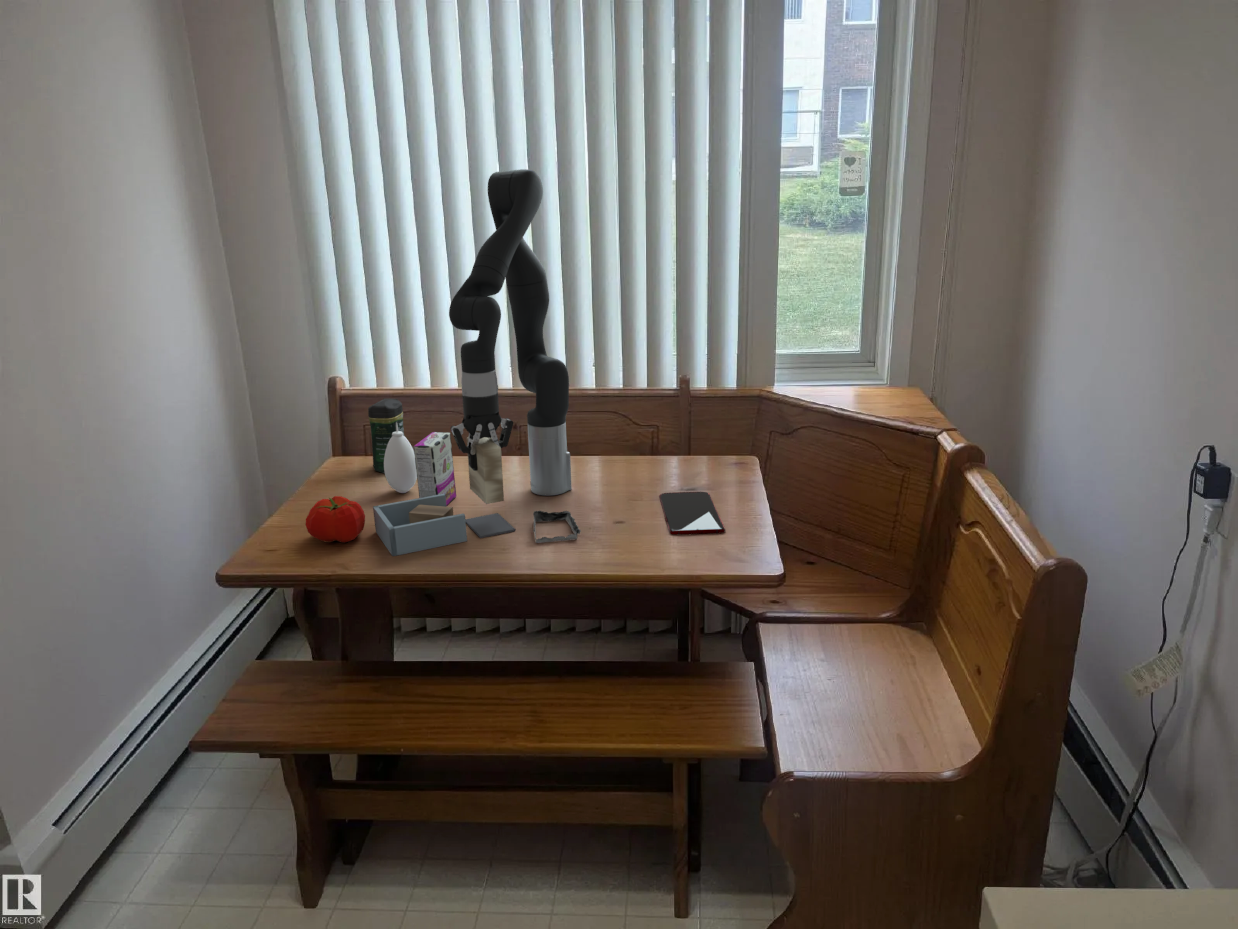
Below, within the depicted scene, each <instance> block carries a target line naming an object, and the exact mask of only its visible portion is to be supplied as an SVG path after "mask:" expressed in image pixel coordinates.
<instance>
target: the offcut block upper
mask: <svg viewBox="0 0 1238 929" xmlns="http://www.w3.org/2000/svg"><path fill="white" fill-rule="evenodd" d="M453 507H454V506H446V507H445V506H431V505H418V506H417V507H415V508H414V509H413V510H412V511H410V512H409V520H410V524H411V523H416V522H421V521H427V520H432V519H437V518H442V517H447V516H453V515H454V508H453Z"/></svg>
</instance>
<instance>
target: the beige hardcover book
mask: <svg viewBox="0 0 1238 929" xmlns="http://www.w3.org/2000/svg"><path fill="white" fill-rule="evenodd" d="M468 437H469V436H467V437H466V446H468ZM476 454H477V467H478V470H477V471H474V470H473V469H472V468H471V467H470V466H469V459H468V458H467V462H468V466H467V467H468V477H469V478H468V479H469V480H468V481H469V490H471V491H472V493H474V494H475V495H476V496H477V497H478V498H479V499H480V500H481V501H482V502H484V504H485V505H489V504H494V503H500V502H505V498H504V495H505V494H504V478H503V461H502V458H503V456H502V448H501V447H499V446H498V445H497V444H495V443H492V441H491V440H489V439H488V438H487V437H484V438H481V439H479V443H478V445H476Z"/></svg>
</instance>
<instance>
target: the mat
mask: <svg viewBox="0 0 1238 929" xmlns="http://www.w3.org/2000/svg"><path fill="white" fill-rule="evenodd" d="M465 521H466V526H468V527H469V528H470V529H471V530H472V531H473V532H474V533H475V534H476V536H478V537H479V539H484V538H489V537H492V536H497V535H498V536H499V535H501V534H502V535H503V534H507V533H513V532H516V528H515V527H514V526H512V524H511V523H509V522H508V520H506V519H505V518H504V517H503V516H502V515H501V514H499V513H498V512H496V513H491V514H486V515H481V516H475V517H470V518H465Z"/></svg>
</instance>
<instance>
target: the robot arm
mask: <svg viewBox="0 0 1238 929" xmlns="http://www.w3.org/2000/svg"><path fill="white" fill-rule="evenodd" d="M543 193H544V189H543V183H542V180H541V178H540V175H539V174H538V173H537V172H536V171H534V170H533V169H527V168H526V169H525V168H524V169H511V170H510V169H509V170H501V171H500V170H499V171H494V172H493V173H491V174H490V176H489V178H488V181H487V196H488V198H487V199H488V203H489V207H490V211H491V216H492V220H493V223H494V227H495V230H494V231H493V233H492V234H491V235H490V236H489V237H488V238H487V239H486V241H485V242H484V243H483V244H482V246H481V247H480V248H479V250H478V253H477V255H476V258H475V261H474V264H473V266H472V269H471V272H470V274H469V276H468V277H467V279H465V281H464V283H463V284H462V285H461V286H460V287H459V289H458V290H457V291H456V293H455V294H454V296H453V298H452V300H451V302H450V305H449V309H448V317H449V321H450V324H451V325H452V326H453V327H454V328H456V329H458V330H460V331H461V330H462V331H475V332H476V331H478V336H477V339H476V340H471V341H466V342H464V343H463V344H462V345H461V346H460V363H461V395H462V396H461V399H462V410H463V411H462V412H463V413H462V414H463V419H462V420H461V423H459V424H457V425H456V426H455V425H452V426H450V428H449V429H450V433H451V435H452V437H453V438H454V441H455V443H456V445H457V448H458V449H459V451H460V452H462V453H463V454H467V460H468V459H469V466H470V467H471V468H472V469H473V470H474V471H477V470H478V467H477V454H476V445H478V443H479V439H481V438H484V437H487V438H488V439H489V440H491V441H492V443H495V444H497V445H498V446H499V447H501V449H502V448H506V447H508V446H509V441H510V438H511V434H512V430H513V426H514V421H513V420H511V419H510V418H509V417H506V418H502V416H501V414H500V408H499V407H500V406H499V384H498V377H497V372H496V371H497V370H496V355H495V350H496V344H497V339H498V338H497V337H498V332H499V328H500V325H501V324H500V323H501V319H502V310H501V307H500V304H499V303H498V301H497V300H496V299H495V298H493V297H492V296H495V295H497V294H498V293H500V292H501V290H502V288H503V285H504V282H505V283H506V288H507V294H508V300H509V304H510V309H511V314H512V315H511V317H512V323H513V328H514V335H515V342H516V355H517V356H516V358H517V359H516V360H517V371H518V378H519V382H520V384H521V385H522V387H523V388H524V389H525V390H526V391H529V392H531V393H533V394H535V407H533V408H531V409H529V410H528V411H527V414H526V417H527V418H526V419H527V420H526V422H527V435H528V436H527V438H528V439H527V440H528V456H529V457H528V458H529V477H530V481H529V482H530V492H531V493H533V494H535V495H538V496H557V495H558V496H559V495H562V494H564V493H567V491H571V490H572V487H573V486H572V467H571V466H572V464H571V453H570V452H569V451H568V446H567V424H566V422H567V421H566V420H567V419H566V418H567V414H568V411H569V407H570V406H569V404H570V402H569V401H570V378H569V377H570V376H569V372H568V368H567V365H566V364H565V363H564V362H563V361H562V360H560V359H558V358H555V357H552V356H548V355H547V351H546V347H545V346H546V345H545V340H544V325H545V320H546V318H547V314H548V309H549V306H550V293H549V292H550V291H549V286H548V280H547V273H546V269H545V268H544V266H543V264H542V262H541V261H540V259H539V258H538V256H537V255H536V253H535V252H534V251H533V249H532V248H530V246H529V245H528V243H527V241H526V240H525V238H524V237H525V235H526V232H527V230H528V229H529V227H530V226H531V223H532V222H533V221H534V218H535V216H536V214H537V213H538V210H539V209H540V206H541V204H542V201H543V195H544V194H543ZM499 426H501V432H500V434H499V438H498V435H497V430H498V428H499ZM464 430H466V431H467V433H468V436H467V437H468V446H467V444H466V443H465V440H464V439H463V436H462V435H463V434H464Z"/></svg>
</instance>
